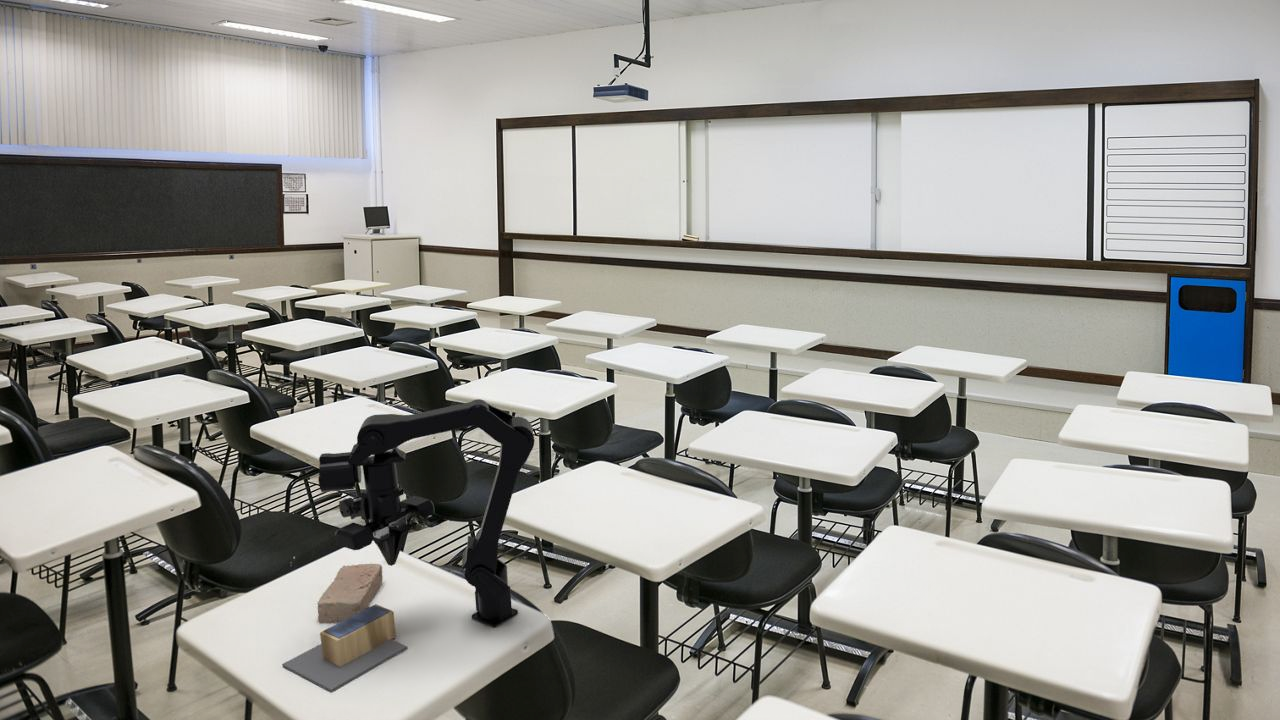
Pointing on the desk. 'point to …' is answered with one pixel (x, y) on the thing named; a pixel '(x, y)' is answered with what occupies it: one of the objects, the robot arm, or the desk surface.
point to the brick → (349, 592)
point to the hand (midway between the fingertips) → (391, 564)
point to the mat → (335, 676)
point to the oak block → (357, 635)
